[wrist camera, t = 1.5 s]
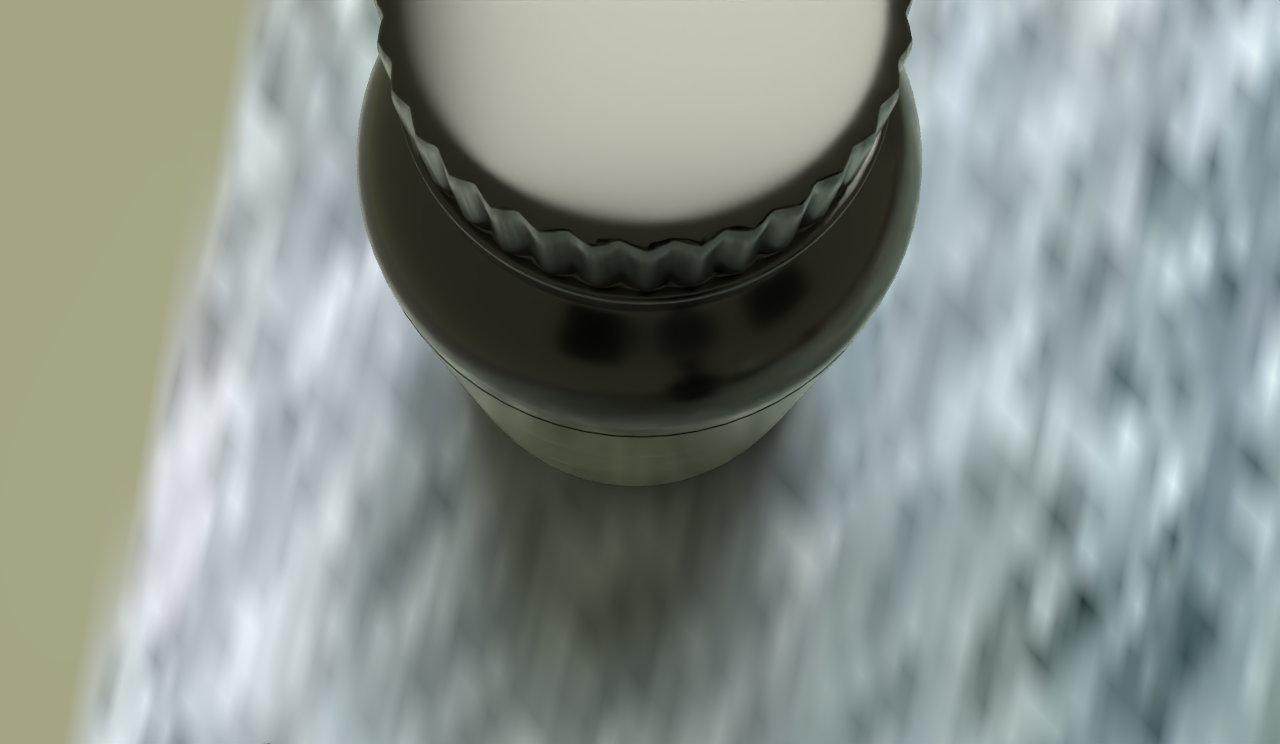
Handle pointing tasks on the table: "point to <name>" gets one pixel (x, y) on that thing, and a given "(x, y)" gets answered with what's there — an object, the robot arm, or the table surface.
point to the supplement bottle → (639, 210)
